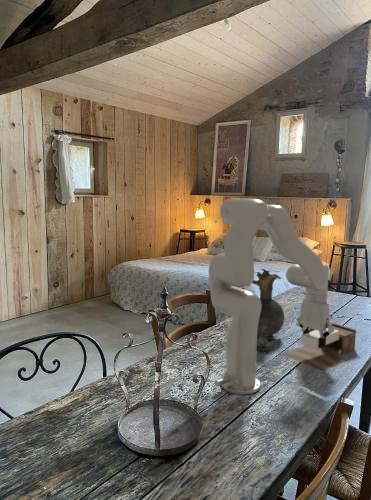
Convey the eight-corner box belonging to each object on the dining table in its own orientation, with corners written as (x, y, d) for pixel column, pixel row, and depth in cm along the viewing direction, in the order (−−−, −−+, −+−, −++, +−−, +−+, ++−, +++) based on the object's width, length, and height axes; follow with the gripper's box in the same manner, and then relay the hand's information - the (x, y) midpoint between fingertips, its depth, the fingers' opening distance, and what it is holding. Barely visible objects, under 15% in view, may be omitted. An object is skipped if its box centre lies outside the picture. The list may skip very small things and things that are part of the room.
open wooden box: (323, 373, 140) (324, 348, 139) (281, 356, 155) (282, 333, 153) (364, 355, 156) (365, 332, 155) (323, 340, 170) (324, 320, 169)
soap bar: (315, 349, 146) (315, 339, 146) (301, 344, 151) (301, 335, 150) (338, 339, 155) (339, 330, 155) (325, 335, 160) (325, 326, 159)
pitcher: (276, 345, 165) (280, 273, 161) (235, 335, 176) (236, 267, 171) (286, 337, 174) (289, 268, 169) (246, 328, 185) (248, 263, 180)
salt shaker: (270, 356, 155) (271, 325, 153) (254, 354, 156) (255, 324, 154) (270, 350, 161) (271, 320, 159) (255, 348, 162) (256, 319, 160)
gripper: (290, 293, 152) (288, 339, 155) (331, 304, 139) (328, 354, 142) (302, 290, 157) (300, 335, 160) (343, 300, 143) (340, 349, 146)
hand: (313, 343), depth 151 cm, fingers closed on soap bar, 6 cm apart
